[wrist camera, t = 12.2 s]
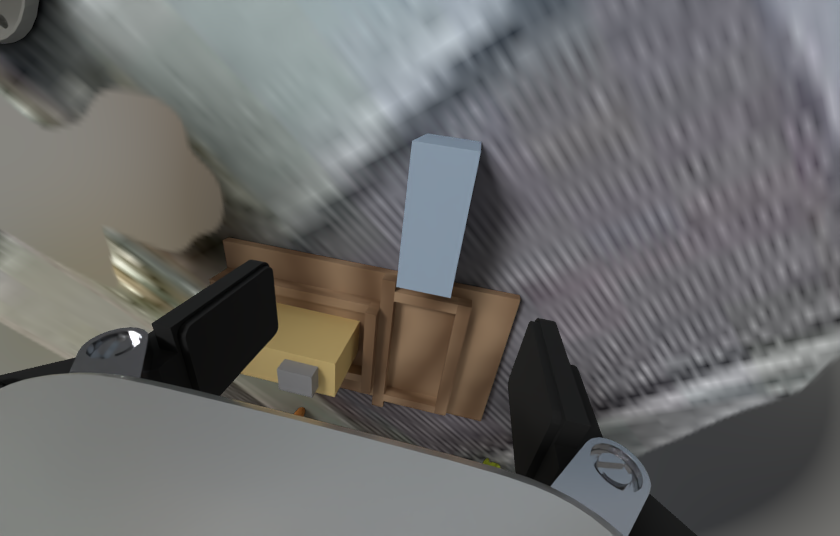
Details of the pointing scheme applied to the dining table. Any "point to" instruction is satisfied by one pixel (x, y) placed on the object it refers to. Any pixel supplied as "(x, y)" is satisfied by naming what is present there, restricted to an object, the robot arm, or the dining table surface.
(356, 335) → the block
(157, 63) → the dining table surface
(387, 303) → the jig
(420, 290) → the plank
